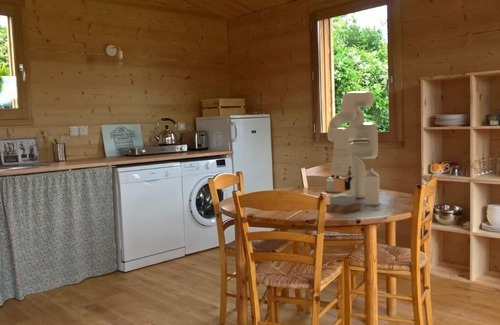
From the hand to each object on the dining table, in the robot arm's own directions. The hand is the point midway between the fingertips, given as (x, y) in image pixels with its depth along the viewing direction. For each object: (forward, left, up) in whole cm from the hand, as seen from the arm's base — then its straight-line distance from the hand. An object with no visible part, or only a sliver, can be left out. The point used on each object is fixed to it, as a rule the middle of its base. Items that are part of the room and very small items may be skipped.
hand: (342, 188), depth 239 cm
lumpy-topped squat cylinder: (-44, +46, -12) cm, 65 cm away
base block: (0, 0, -12) cm, 12 cm away
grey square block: (0, 0, -8) cm, 8 cm away
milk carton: (0, +24, -11) cm, 27 cm away
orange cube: (0, 0, -1) cm, 1 cm away
